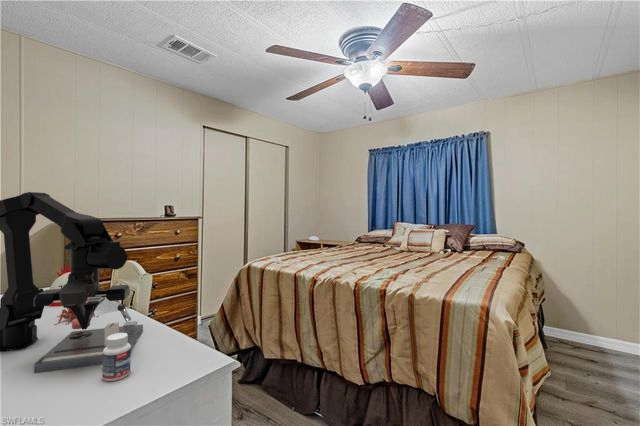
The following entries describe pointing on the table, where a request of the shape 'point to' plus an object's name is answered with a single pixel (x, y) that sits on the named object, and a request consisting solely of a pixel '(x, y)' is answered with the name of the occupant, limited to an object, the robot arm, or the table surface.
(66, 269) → the kitchen timer
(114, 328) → the fader
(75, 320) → the button
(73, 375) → the table surface
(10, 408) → the table surface
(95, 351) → the panel
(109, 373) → the pill bottle
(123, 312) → the toggle
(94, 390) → the table surface
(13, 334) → the robot arm
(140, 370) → the table surface
